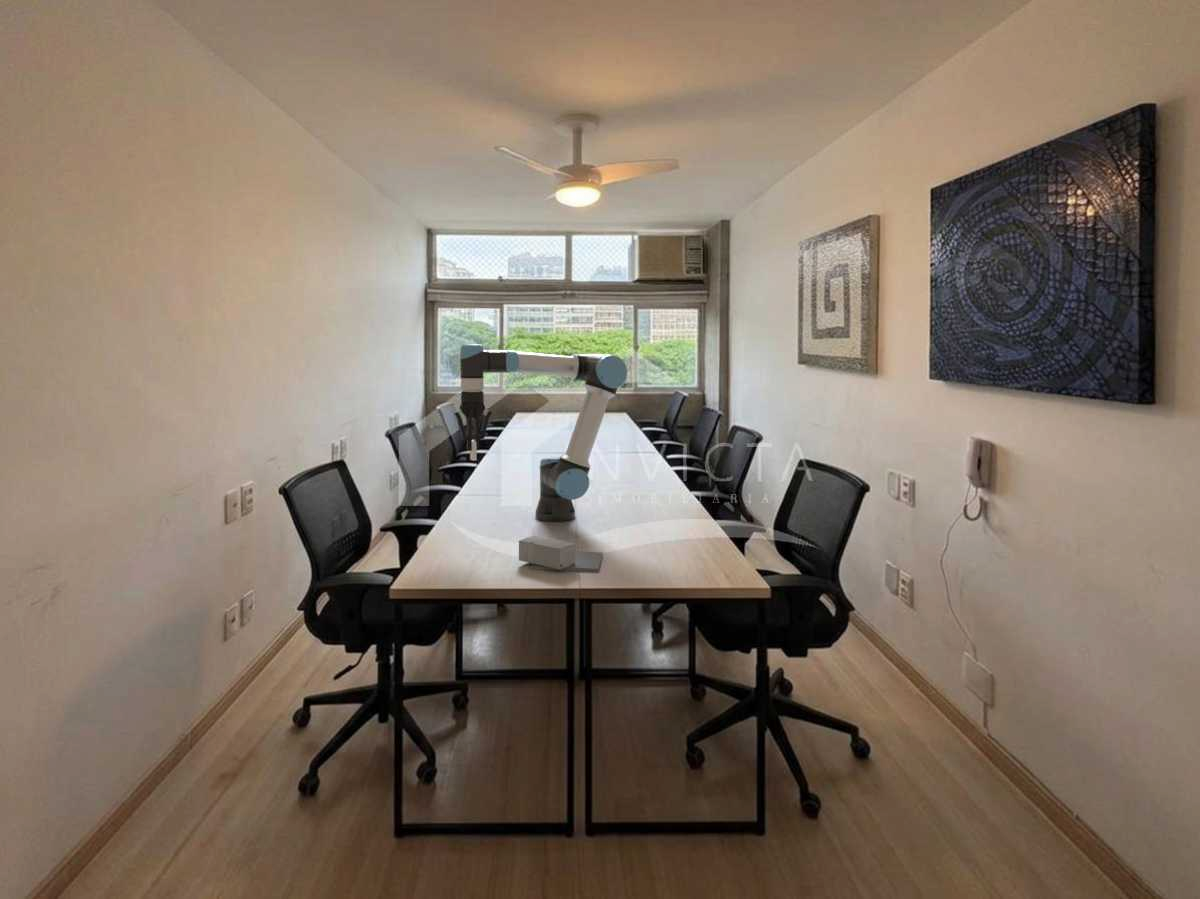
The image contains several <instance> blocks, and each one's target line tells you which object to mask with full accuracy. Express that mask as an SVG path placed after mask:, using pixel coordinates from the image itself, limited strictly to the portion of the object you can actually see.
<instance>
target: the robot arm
mask: <svg viewBox="0 0 1200 899" xmlns="http://www.w3.org/2000/svg"><path fill="white" fill-rule="evenodd" d="M483 346H484V345H482V344H480V343H478V344H476V343H475V344H472V343H470V344H466V343H465V344H462V345H461V346H460V350H459V352H460V353H459V359H460V360H459V362H460V389H461V392H460V405H459V409H457V410H456V411H453V413H452V414H453V416H454V417H455V418H456V422H457V425H458V426H457V427H458V429H459V434H460V438H461V439H462V440H464V441H466V447H467V448H466V450H467V451H469V460H471V461H478V460H477V453H478V452H477V451H479V450H480V441H481V440H483V439H485V436H486V432H487V428H488V424H489V419H490V418H491V416H492V413H493V412H492V411H491V410H488V408H486V406H485V400H484V399H485V398H484V397H485V395H484V394H485V392H484V391H483V390H484V389H485V388H484V384H485V383H484V373H486V374H487V373H490V374H491V373H495V374H497V373H500V374H501V373H506V374H509V373H521V374H531V375H544V376H553V377H554V376H555V377H569V379H570V380H573V381H579V382H580V381H581V382H585V383H584V387H585V389H586V393H585V397H584V399H583V402H582V405H581V408H580V411H579V414H578V416H577V420H576V422H575V425H574V428H573V431H572V434H571V436H570V440H569V443H568V446H567V448H566V451H565V453H564V454H562V455H560V456H555V457H554V456H553V457H552V456H551V457H544V458H542V459H540V462H539V464H540V465H539V492H540V493H539V500H538V502H537V505H536V506H537V507H536V509H535V518H536V519H537V520H540V521H543V522H544V521H545V522H566V521H570V520H573V519H575V518H576V510H575V506H574V503H573V501H574V500H578V499H580V498H582V497H583V496H584V495H585V494H586V493H587V492H588V490H589V487H590V478H589V476H588V475H589V472H590V469H591V465H590V463H589V459H590V457H591V453H592V450H593V449H594V445H595V442H596V440H597V436H598V434H599V430H600V427H601V424H602V422H603V419H604V416H605V412H606V410H607V407H608V404H609V401H610V399H611V398H613V397H615V396H616V394H617V391H618V388H620V387H621V386H622V385H623V384H624V383H625V382H626V380H627V376H628V369H627V365H626V363H625V361H624V360H623V359H622V358H621V357H620V356H618V355H616V354H613V353H601V352H600V353H598V352H597V353H586V354H581V353H580V354H579V353H572V355H570V356H569V355H559V354H548V353H537V352H527V351H526V352H524V351H516V350H510V349H507V350H505V349H493V348H487V349H484V347H483ZM462 415H464V418H465V421H466V422H465V423H466V426H465V425H464V422H463V418H462ZM482 415H483V418H482V422H481V426H480V418H481V416H482ZM472 422H473V424H472ZM464 426H465V427H466V430H465V427H464ZM473 439H474V440H473Z"/></svg>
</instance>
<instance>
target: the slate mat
mask: <svg viewBox="0 0 1200 899" xmlns="http://www.w3.org/2000/svg"><path fill="white" fill-rule="evenodd" d="M602 558H603V552H602V551H601V552H600V551H599V552H597V551H576V552H575V564H573V565H570V566H569V567H565V568H562V569H555V568H551V567H546V566H542V565H538V564H533V563H531V565H530V566H531V567H530V569H531V570H537V571H538V570H539V571H561V572H562V571H565V572H566V571H567V572H589V573H591V572H592V573H599V570H600V566H601V562H602V560H603V559H602Z"/></svg>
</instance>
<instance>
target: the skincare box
mask: <svg viewBox="0 0 1200 899" xmlns="http://www.w3.org/2000/svg"><path fill="white" fill-rule="evenodd" d="M576 547H577V546H576V543H573V542H568V541H567V542H566V541H562V540H557V539H552V538H547V537H543V536H538V535H532V536H529V537H525V538H521V539H520V540H518V561H520V562H524V563H530V564H538V565H542V566H546V567H551V568H555V569H562V568H565V567H569V566H570V565H573V564H575V552H576V549H577V548H576Z"/></svg>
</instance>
